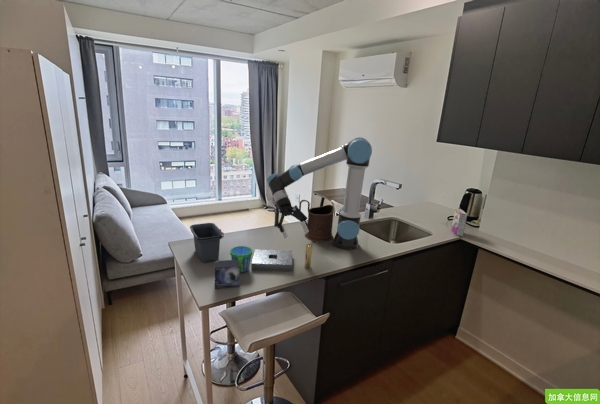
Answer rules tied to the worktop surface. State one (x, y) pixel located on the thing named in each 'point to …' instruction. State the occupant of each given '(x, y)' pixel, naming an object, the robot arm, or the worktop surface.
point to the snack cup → (242, 256)
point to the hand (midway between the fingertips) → (297, 235)
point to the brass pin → (308, 256)
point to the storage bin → (207, 240)
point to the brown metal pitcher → (319, 223)
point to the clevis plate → (272, 260)
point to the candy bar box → (459, 222)
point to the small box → (227, 274)
